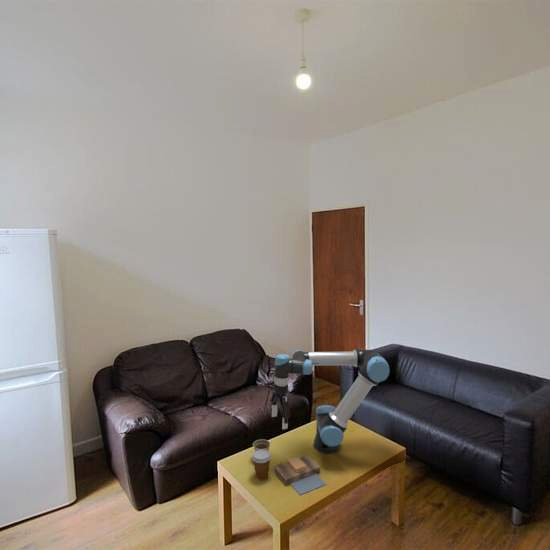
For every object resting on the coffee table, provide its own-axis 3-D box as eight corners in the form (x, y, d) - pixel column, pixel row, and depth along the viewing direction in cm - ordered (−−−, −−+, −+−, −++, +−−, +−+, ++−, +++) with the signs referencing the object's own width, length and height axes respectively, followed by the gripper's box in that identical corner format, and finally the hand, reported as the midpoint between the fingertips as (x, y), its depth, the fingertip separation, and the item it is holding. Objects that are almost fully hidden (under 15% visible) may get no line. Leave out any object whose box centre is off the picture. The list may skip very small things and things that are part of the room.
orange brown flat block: (297, 459, 190) (297, 456, 190) (306, 469, 182) (306, 465, 182) (287, 463, 188) (287, 459, 187) (296, 473, 180) (296, 469, 179)
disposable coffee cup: (256, 484, 176) (255, 461, 175) (250, 473, 185) (249, 451, 184) (274, 479, 180) (273, 456, 179) (267, 468, 189) (266, 446, 187)
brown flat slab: (307, 460, 195) (307, 454, 194) (320, 472, 184) (320, 467, 184) (274, 471, 186) (274, 466, 185) (285, 485, 175) (285, 479, 175)
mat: (316, 474, 183) (316, 473, 183) (326, 484, 175) (326, 484, 175) (290, 484, 176) (290, 483, 176) (299, 495, 168) (299, 494, 168)
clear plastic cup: (268, 465, 191) (268, 450, 190) (251, 463, 193) (250, 448, 192) (272, 455, 200) (271, 440, 199) (255, 453, 202) (255, 438, 201)
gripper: (265, 376, 200) (264, 412, 202) (284, 394, 177) (282, 435, 179) (277, 374, 203) (276, 410, 205) (298, 392, 180) (296, 432, 182)
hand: (279, 422), depth 192 cm, fingers open, 13 cm apart
